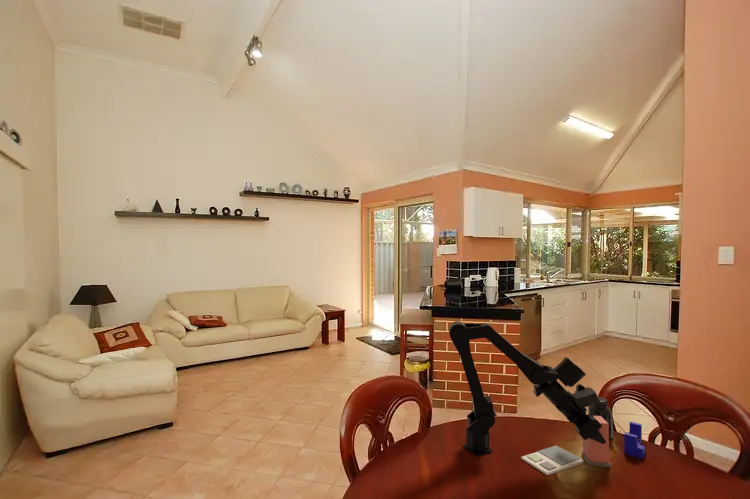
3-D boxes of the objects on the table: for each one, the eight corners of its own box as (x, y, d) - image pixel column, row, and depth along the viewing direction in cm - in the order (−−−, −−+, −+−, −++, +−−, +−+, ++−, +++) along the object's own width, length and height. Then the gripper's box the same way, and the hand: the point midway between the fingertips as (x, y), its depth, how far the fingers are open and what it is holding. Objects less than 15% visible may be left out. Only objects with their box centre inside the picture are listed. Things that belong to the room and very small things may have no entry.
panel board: (547, 475, 97) (547, 472, 97) (521, 458, 105) (521, 455, 105) (583, 462, 103) (583, 459, 103) (556, 447, 112) (556, 445, 112)
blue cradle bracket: (642, 459, 106) (642, 439, 106) (624, 454, 109) (624, 434, 109) (647, 444, 114) (647, 425, 115) (630, 439, 118) (630, 421, 118)
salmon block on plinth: (589, 465, 102) (588, 422, 103) (581, 454, 108) (581, 414, 108) (610, 467, 101) (610, 424, 102) (602, 456, 107) (601, 415, 107)
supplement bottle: (605, 430, 123) (605, 395, 124) (617, 440, 116) (616, 403, 117) (584, 429, 124) (584, 394, 124) (594, 439, 117) (594, 402, 118)
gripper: (593, 390, 97) (639, 435, 94) (569, 369, 115) (607, 407, 113) (561, 417, 98) (606, 462, 95) (543, 392, 116) (580, 430, 114)
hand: (600, 438), depth 104 cm, fingers closed on salmon block on plinth, 5 cm apart
